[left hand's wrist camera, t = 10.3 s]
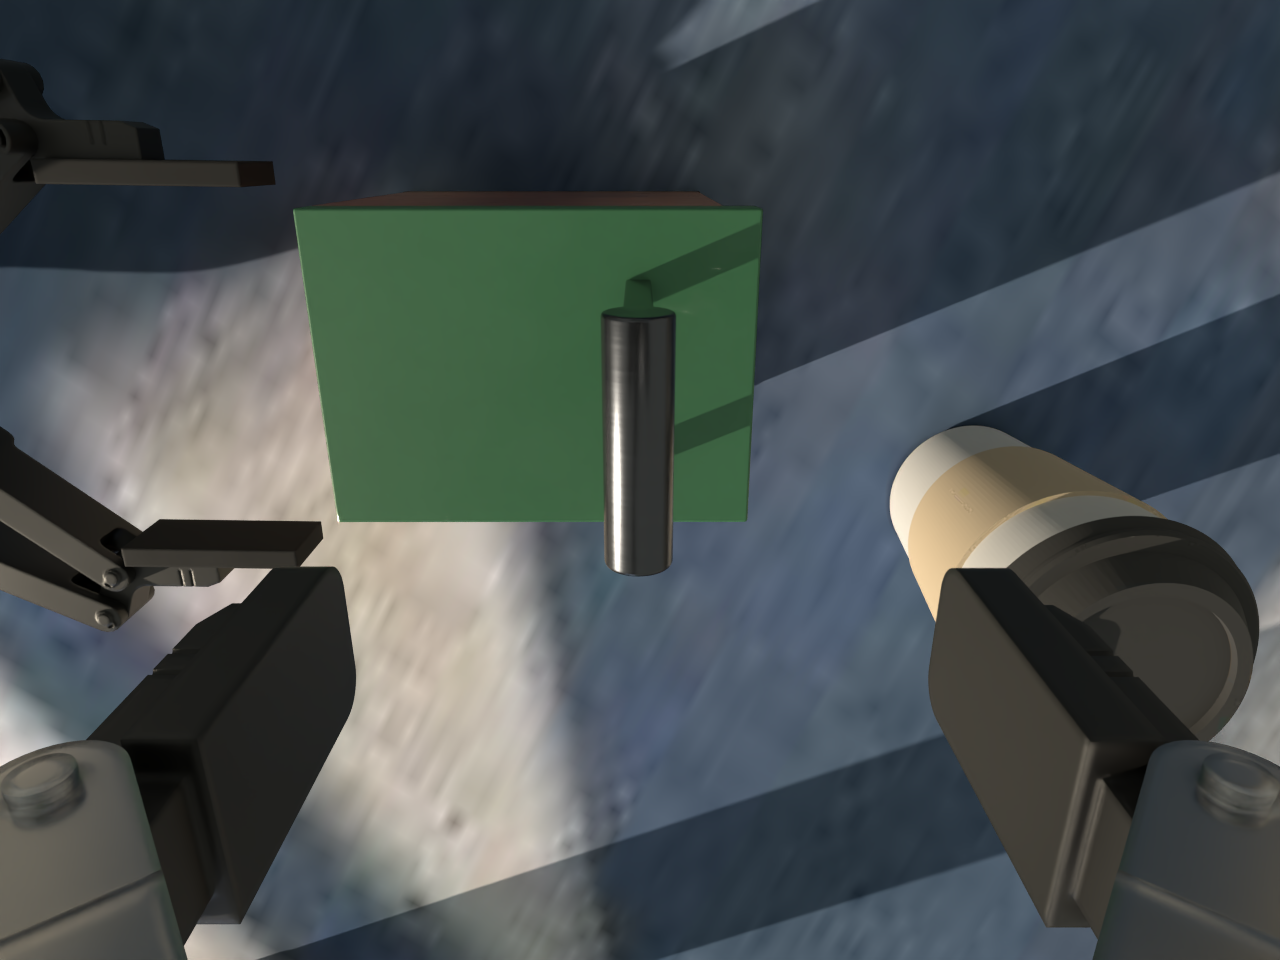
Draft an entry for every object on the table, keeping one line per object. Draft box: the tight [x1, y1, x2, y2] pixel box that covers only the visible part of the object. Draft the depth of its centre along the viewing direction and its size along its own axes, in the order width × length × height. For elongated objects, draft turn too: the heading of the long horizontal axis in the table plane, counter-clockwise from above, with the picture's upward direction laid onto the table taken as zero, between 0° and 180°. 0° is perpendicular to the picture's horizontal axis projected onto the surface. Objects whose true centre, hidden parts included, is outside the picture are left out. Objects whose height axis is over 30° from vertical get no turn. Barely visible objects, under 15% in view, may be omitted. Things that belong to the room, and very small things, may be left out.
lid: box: [293, 206, 763, 576], centre depth 21 cm, size 13×9×8 cm
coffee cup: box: [890, 426, 1259, 742], centre depth 31 cm, size 9×9×15 cm
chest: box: [313, 191, 722, 206], centre depth 30 cm, size 12×9×11 cm
